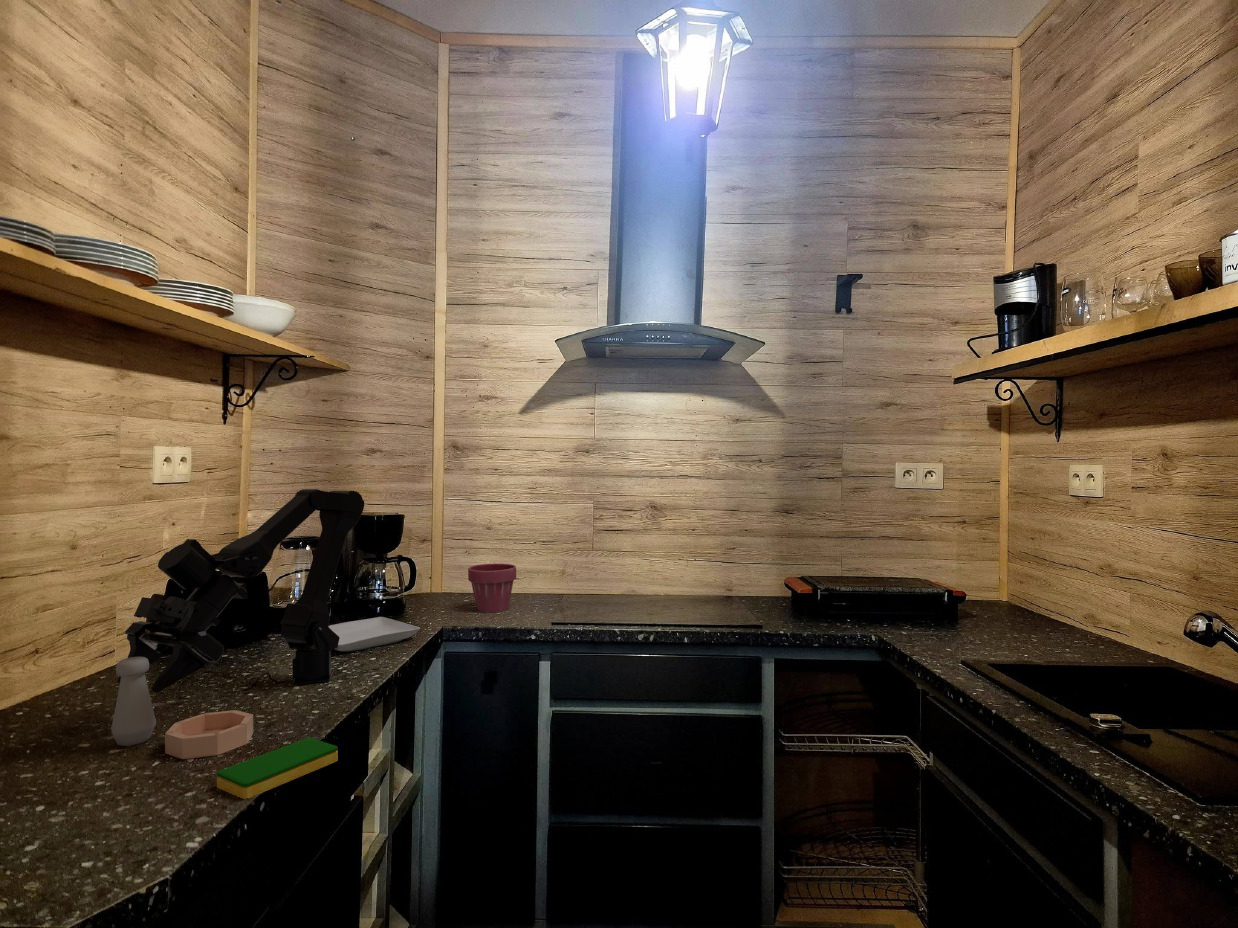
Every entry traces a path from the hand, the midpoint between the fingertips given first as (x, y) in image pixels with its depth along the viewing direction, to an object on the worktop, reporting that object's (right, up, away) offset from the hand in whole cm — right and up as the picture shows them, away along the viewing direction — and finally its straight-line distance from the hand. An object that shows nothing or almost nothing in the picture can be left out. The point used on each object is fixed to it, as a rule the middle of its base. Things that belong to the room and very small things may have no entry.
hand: (136, 687), depth 109 cm
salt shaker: (0, -8, 0) cm, 8 cm away
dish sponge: (+29, -8, -13) cm, 33 cm away
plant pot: (+39, -8, +96) cm, 104 cm away
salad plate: (+13, -9, +61) cm, 63 cm away
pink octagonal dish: (+13, -8, -2) cm, 15 cm away
